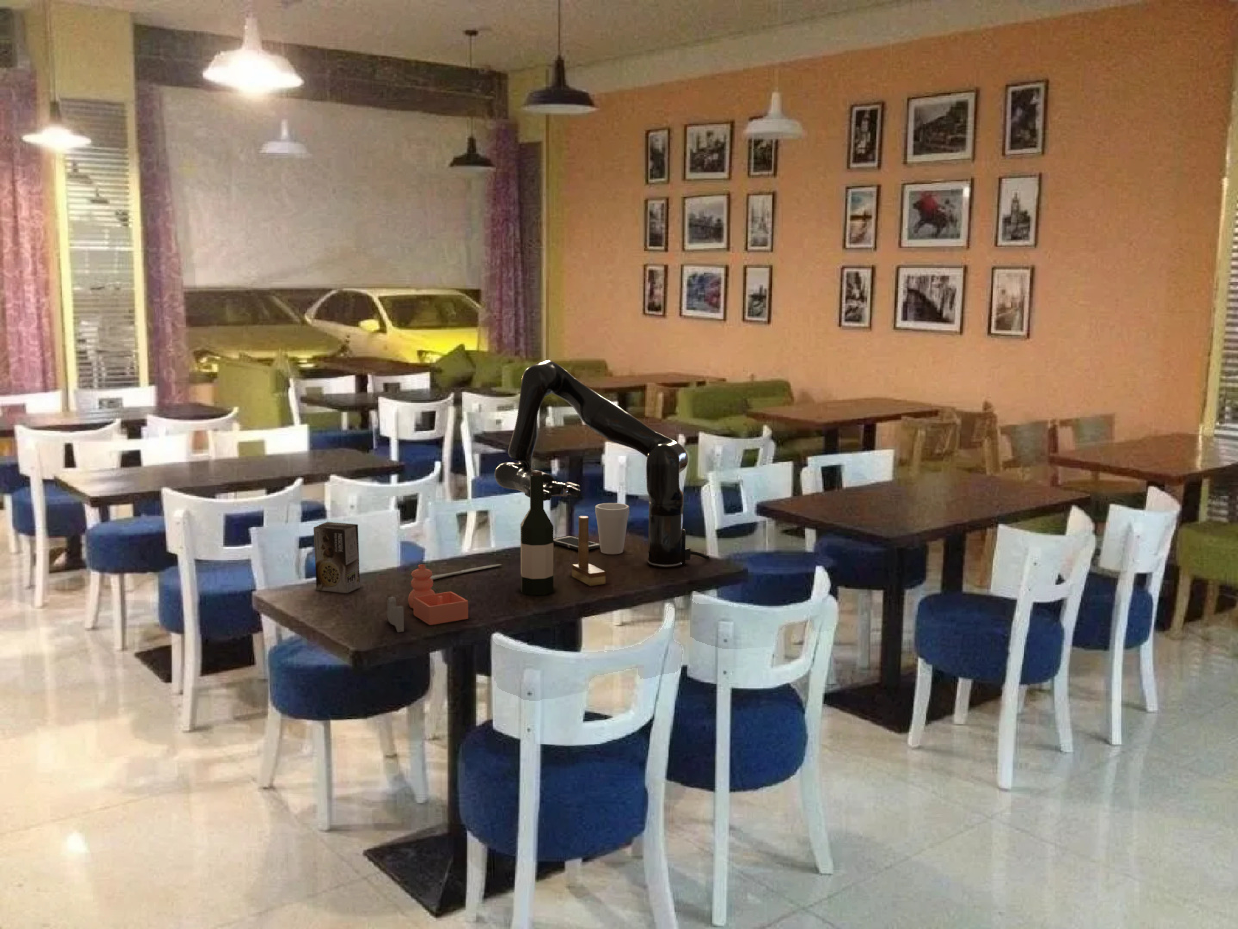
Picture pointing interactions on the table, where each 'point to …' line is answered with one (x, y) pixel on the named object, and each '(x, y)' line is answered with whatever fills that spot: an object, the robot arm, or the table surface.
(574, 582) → the table surface
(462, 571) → the butter knife
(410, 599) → the pottery
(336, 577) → the coffee box
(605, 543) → the foam cup
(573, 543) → the cell phone
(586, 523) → the brush
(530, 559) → the wine bottle
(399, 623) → the grey stepped plate
